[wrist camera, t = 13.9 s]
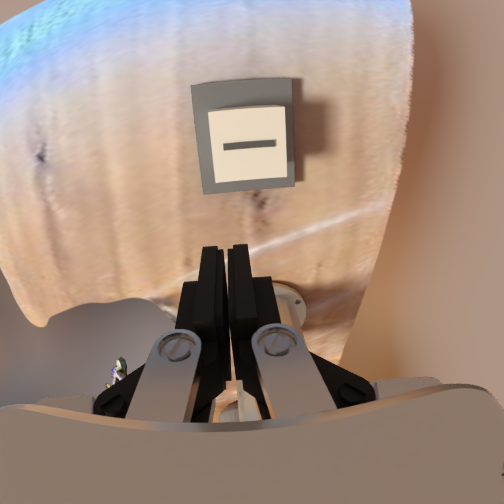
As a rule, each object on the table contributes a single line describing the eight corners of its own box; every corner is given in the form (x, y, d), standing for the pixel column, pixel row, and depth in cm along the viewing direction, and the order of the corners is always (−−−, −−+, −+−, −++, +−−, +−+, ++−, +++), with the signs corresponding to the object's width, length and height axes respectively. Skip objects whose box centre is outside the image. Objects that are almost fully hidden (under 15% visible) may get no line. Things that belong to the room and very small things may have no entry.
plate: (291, 182, 32) (294, 186, 31) (204, 190, 31) (203, 194, 30) (288, 79, 26) (291, 78, 24) (192, 86, 25) (190, 85, 24)
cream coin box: (275, 104, 26) (285, 106, 21) (277, 163, 29) (287, 177, 25) (211, 109, 25) (207, 112, 21) (217, 168, 29) (215, 183, 24)
